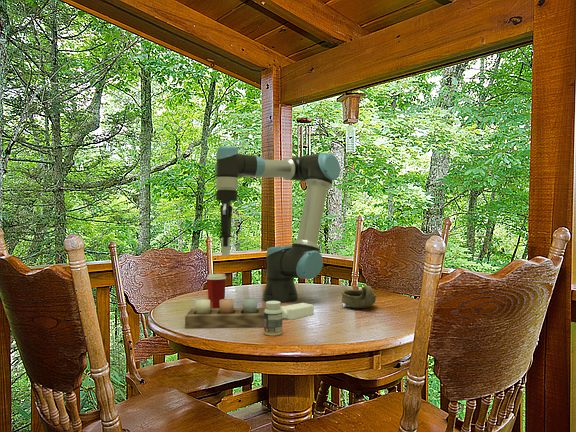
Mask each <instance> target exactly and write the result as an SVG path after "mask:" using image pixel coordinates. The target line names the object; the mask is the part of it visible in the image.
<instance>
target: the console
mask: <svg viewBox="0 0 576 432" xmlns="http://www.w3.org/2000/svg"><path fill="white" fill-rule="evenodd" d="M265 309H266V308H265V307H257V313H243V307H234V313H233V314H220V308H210V314H196V308H190V310H189V311H188V313H187V314H185V316H184V329H230V328H231V329H235V328H236V329H237V328H239V329H240V328H241V329H242V328H243V329H244V328H246V329H248V328H264V310H265Z"/></svg>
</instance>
